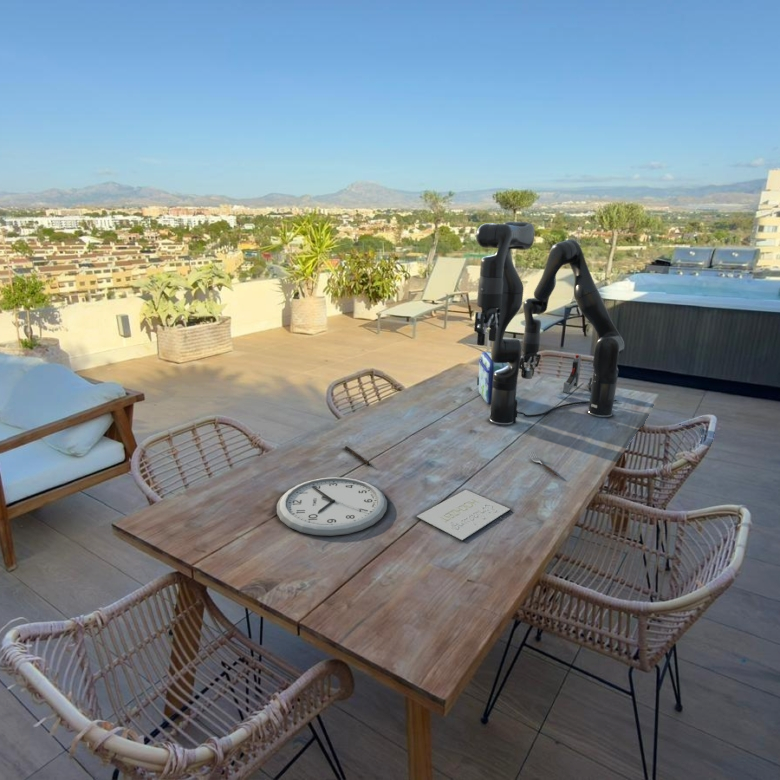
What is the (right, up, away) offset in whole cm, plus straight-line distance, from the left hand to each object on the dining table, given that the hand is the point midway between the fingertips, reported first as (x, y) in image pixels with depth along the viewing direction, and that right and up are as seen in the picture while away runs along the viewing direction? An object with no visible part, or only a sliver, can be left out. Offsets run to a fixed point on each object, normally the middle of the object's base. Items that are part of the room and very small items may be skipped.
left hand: (486, 342), depth 166 cm
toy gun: (+56, -15, +84) cm, 102 cm away
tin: (+34, -9, +82) cm, 90 cm away
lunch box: (+15, -19, +67) cm, 72 cm away
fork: (+19, -40, +2) cm, 44 cm away
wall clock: (-46, -47, -23) cm, 70 cm away
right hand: (+35, -9, +82) cm, 89 cm away
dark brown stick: (-42, -37, +7) cm, 56 cm away
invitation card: (-11, -48, -27) cm, 56 cm away
